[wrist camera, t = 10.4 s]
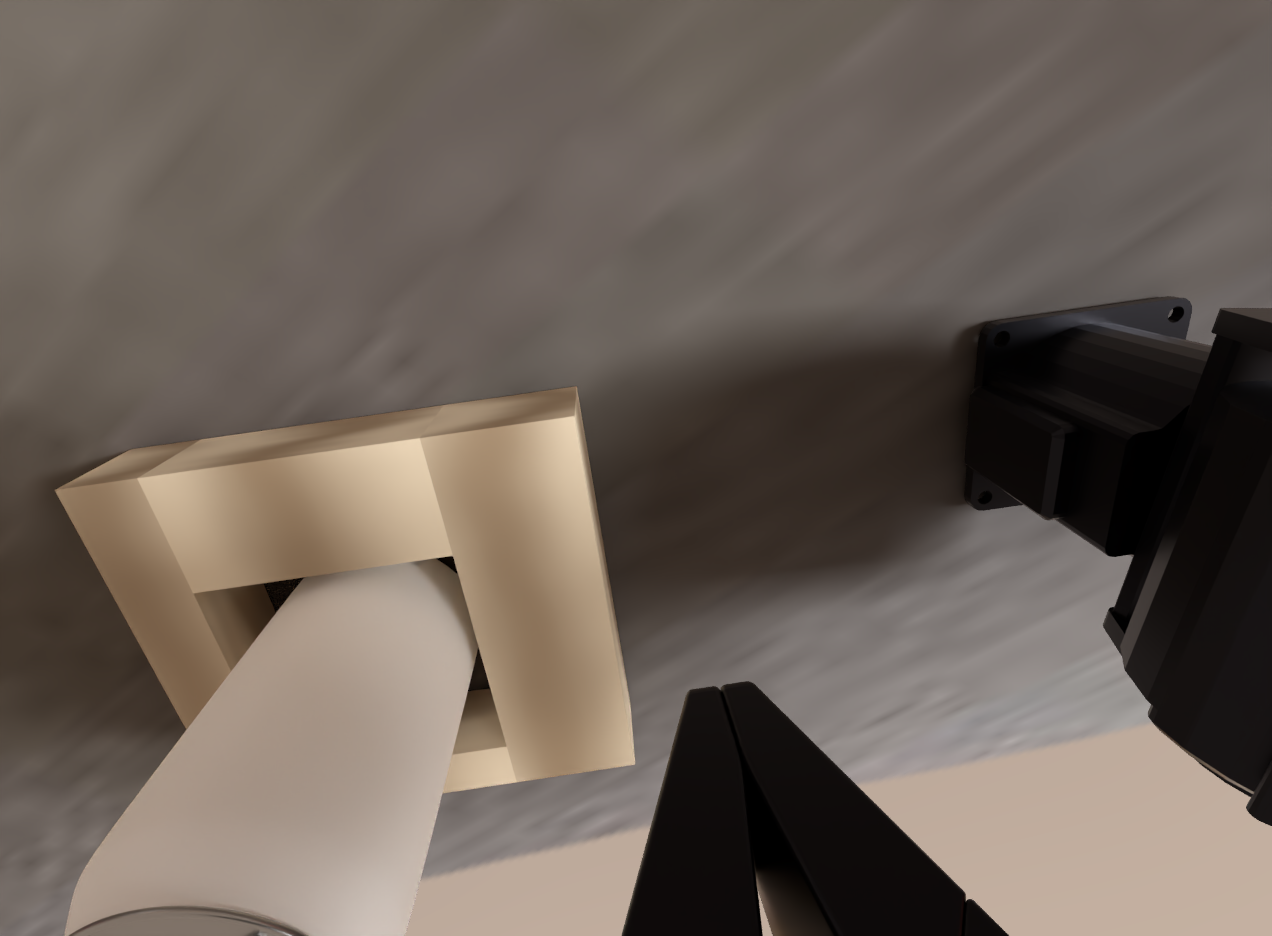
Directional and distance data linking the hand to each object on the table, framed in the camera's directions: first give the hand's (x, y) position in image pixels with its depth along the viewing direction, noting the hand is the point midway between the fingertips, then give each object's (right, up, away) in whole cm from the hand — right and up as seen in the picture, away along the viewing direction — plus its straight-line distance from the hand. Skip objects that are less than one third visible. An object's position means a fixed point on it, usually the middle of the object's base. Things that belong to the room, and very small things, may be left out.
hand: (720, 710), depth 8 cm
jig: (-9, -1, +14) cm, 17 cm away
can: (-10, -2, +15) cm, 18 cm away
